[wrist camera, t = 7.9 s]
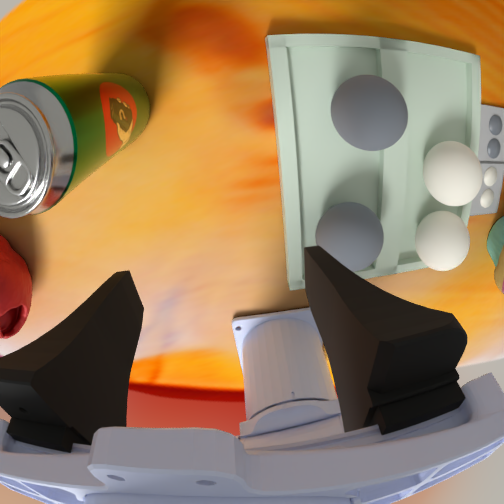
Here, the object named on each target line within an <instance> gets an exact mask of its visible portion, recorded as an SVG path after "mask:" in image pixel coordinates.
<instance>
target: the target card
mask: <svg viewBox="0 0 504 504" xmlns="http://www.w3.org/2000/svg"><path fill="white" fill-rule="evenodd" d="M478 159H479V162H480V164H481V167H482V174H483V179H482V185H481V188H480V190H479V192H478V194H477V195H476V197H475V198H474V199H473V200H472V203H471V209H470V215H469V216H473V215H482V214H490V213H497V210H498V205H499V200H500V194H501V189H502V183H503V176H504V108H500V107H494V106H489V105H483V104H481V120H480V137H479V150H478Z"/></svg>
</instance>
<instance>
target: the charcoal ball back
mask: <svg viewBox="0 0 504 504" xmlns="http://www.w3.org/2000/svg"><path fill="white" fill-rule="evenodd" d="M315 239H316V246H317V245H319V246H320V247H322V248H323V249H324V250H325V251H327V252H328V253H329V254H330V255H331V256H333V257H334V258H335V259H336V260H338V261H339V262H340V263H341V264H343V265H344V266H345V267H347V268H348V269H349V270H351V271H352V272H356V271H360V270H362V269H365V268H366V267H368V266H370V265H371V264H372V263H373V262H374V261H375V260H376V259H377V257H378V256H379V254H380V252H381V250H382V247H383V242H384V233H383V228H382V225H381V222H380V220H379V218H378V217H377V216H376V214H375V213H374V212H373V211H372V210H371V209H369V208H368V207H366V206H364V205H362V204H360V203H355V202H343V203H339V204H337V205H334V206H332V207H331V208H329V209H328V210H327V211H326V212H325V213H324V214H323V215H322V217H321V218H320V220H319V222H318V225H317V228H316V233H315Z"/></svg>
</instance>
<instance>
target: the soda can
mask: <svg viewBox="0 0 504 504" xmlns="http://www.w3.org/2000/svg"><path fill="white" fill-rule="evenodd" d="M149 114H150V103H149V98H148V95H147V93H146V91H145V89H144V87H143V86H142V85H141V84H140V83H139V82H138V81H137V80H136V79H134V78H133V77H131V76H129V75H126V74H122V73H87V74H67V75H54V76H43V77H34V78H25V79H18V80H15V81H12V82H9V83H7V84H6V85H4V86H2V87H1V88H0V216H1V217H5V218H19V217H23V216H26V215H36V214H40V213H43V212H45V211H47V210H49V209H51V208H52V207H53V206H55V205H56V204H57V203H58V202H60V201H61V200H62V199H63V198H64V197H65V196H66V195H67V194H68V193H70V192H71V191H72V190H73V189H74V188H75V187H77V186H78V185H79V184H80V183H81V182H82V181H84V180H85V179H86V178H87V177H88V176H90V175H91V174H92V173H93V172H95V171H96V170H97V169H98V168H99V167H101V166H102V165H103V164H105V163H106V162H107V161H108V160H110V159H111V158H112V157H114V156H115V155H116V154H117V153H119V152H120V151H121V150H123V149H124V148H126V147H127V146H128V145H130V144H131V143H132V142H134V141H135V140H136V139H137V138H138V137H139V136H140V135H141V134H142V132H143V131H144V129H145V127H146V125H147V122H148V119H149Z"/></svg>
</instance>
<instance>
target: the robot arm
mask: <svg viewBox="0 0 504 504" xmlns="http://www.w3.org/2000/svg"><path fill="white" fill-rule="evenodd" d="M304 264H305V290H306V294H307V298H308V302H309V306H310V307H309V308H302V309H296V310H289V311H282V312H275V313H268V314H260V315H253V316H245V317H237V318H234V319H233V320H232V328H233V332H234V337H235V341H236V346H237V350H238V355H239V359H240V363H241V368H242V372H243V376H244V390H245V404H246V418H247V421H245V422H241V423H240V435H239V436H233V435H232V434H231V433H227V432H224V431H221V430H217V429H211V428H196V427H195V428H136V427H126V414H127V396H128V386H129V378H130V372H131V368H132V364H133V360H134V356H135V352H136V348H137V344H138V340H139V336H140V332H141V328H142V320H143V311H144V307H143V305H142V302H141V300H140V297H139V295H138V292H137V290H136V287H135V284H134V282H133V279H132V276H131V274H130V271H121V272H116V273H115V274H113V275H112V276H111V277H110V278H109V279H108V280H107V281H105V282H104V283H103V284H102V285H101V286H100V287H99V288H98V289H97V290H96V291H95V292H94V293H93V294H92V295H91V296H90V297H89V298H88V299H87V300H86V301H85V302H84V303H82V304H81V305H80V306H79V307H78V308H77V309H76V310H75V311H74V312H73V313H72V314H70V315H69V316H68V317H67V318H66V319H64V320H63V321H62V322H61V323H59V324H58V325H57V326H55V327H54V328H53V329H51V330H50V331H48V332H47V333H45V334H44V335H42V336H41V337H39V338H38V339H36V340H35V341H33V342H31V343H30V344H28V345H26V346H24V347H22V348H21V349H19V350H17V351H15V352H13V353H10V354H8V355H6V356H3V357H1V358H0V406H1V407H2V408H3V409H4V410H5V411H6V412H7V413H8V414H9V415H10V416H11V417H12V418H11V420H10V423H8V422H7V421H5V420H3V419H0V483H1V484H2V485H4V486H6V487H7V488H9V489H11V490H14V491H16V492H18V493H21V494H23V495H26V496H28V497H31V498H33V499H36V500H38V501H41V502H44V503H46V504H391V503H393V502H396V501H399V500H401V499H404V498H406V497H409V496H411V495H413V494H416V493H418V492H420V491H423V490H425V489H427V488H429V487H431V486H433V485H435V484H437V483H440V482H442V481H444V480H446V479H448V478H450V477H452V476H454V475H456V474H458V473H460V472H462V471H464V470H466V469H467V468H469V467H471V466H473V465H475V464H477V463H479V462H480V461H482V460H484V459H486V458H487V457H489V456H490V455H491V454H492V453H493V452H494V451H495V450H496V449H497V448H499V447H500V446H501V445H502V444H503V443H504V393H503V391H502V389H501V388H500V386H499V384H498V383H497V381H496V379H495V378H494V376H493V374H492V373H488V374H485V375H483V376H481V377H478V378H476V379H474V380H471V381H469V382H468V383H466V384H465V385H463V386H462V387H461V388H460V387H459V385H458V383H457V380H458V379H459V374H458V373H457V371H456V369H455V368H456V366H457V364H458V362H459V360H460V358H461V356H462V354H463V352H464V350H465V347H466V345H467V334H466V332H465V330H464V329H463V328H462V326H461V325H460V323H459V322H458V321H457V319H456V318H455V316H454V315H453V314H452V313H447V312H443V311H439V310H434V309H430V308H427V307H423V306H420V305H417V304H414V303H411V302H409V301H406V300H403V299H401V298H399V297H396V296H394V295H392V294H390V293H388V292H385V291H383V290H382V289H380V288H378V287H376V286H374V285H372V284H371V283H369V282H367V281H366V280H364V279H363V278H361V277H360V276H358V275H357V274H355V273H354V272H352V271H351V270H349V269H348V268H347V267H345V266H344V265H343V264H341V263H340V262H339V261H338V260H336V259H335V258H334V257H333V256H331V255H330V254H329V253H328V252H327V251H325V250H324V249H323V248H322V247H320V246H319V245H317V246H310V247H304ZM238 326H240V327H239V328H238ZM323 343H324V346H325V349H326V352H327V355H328V358H329V361H330V365H331V369H332V373H333V378H334V382H335V386H336V391H337V395H338V399H337V396H336V392H335V389H334V386H333V382H332V379H331V375H330V372H329V369H328V365H327V362H326V359H325V355H324V352H323V349H322V344H323Z"/></svg>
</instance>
